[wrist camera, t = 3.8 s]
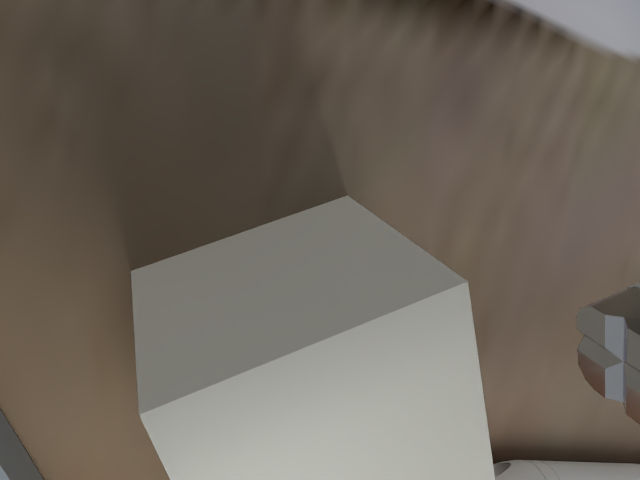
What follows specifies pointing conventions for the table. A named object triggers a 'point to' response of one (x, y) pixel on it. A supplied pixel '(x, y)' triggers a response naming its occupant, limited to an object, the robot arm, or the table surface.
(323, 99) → the table surface
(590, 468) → the marker
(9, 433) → the board
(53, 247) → the table surface
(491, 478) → the cream white cube
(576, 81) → the table surface
